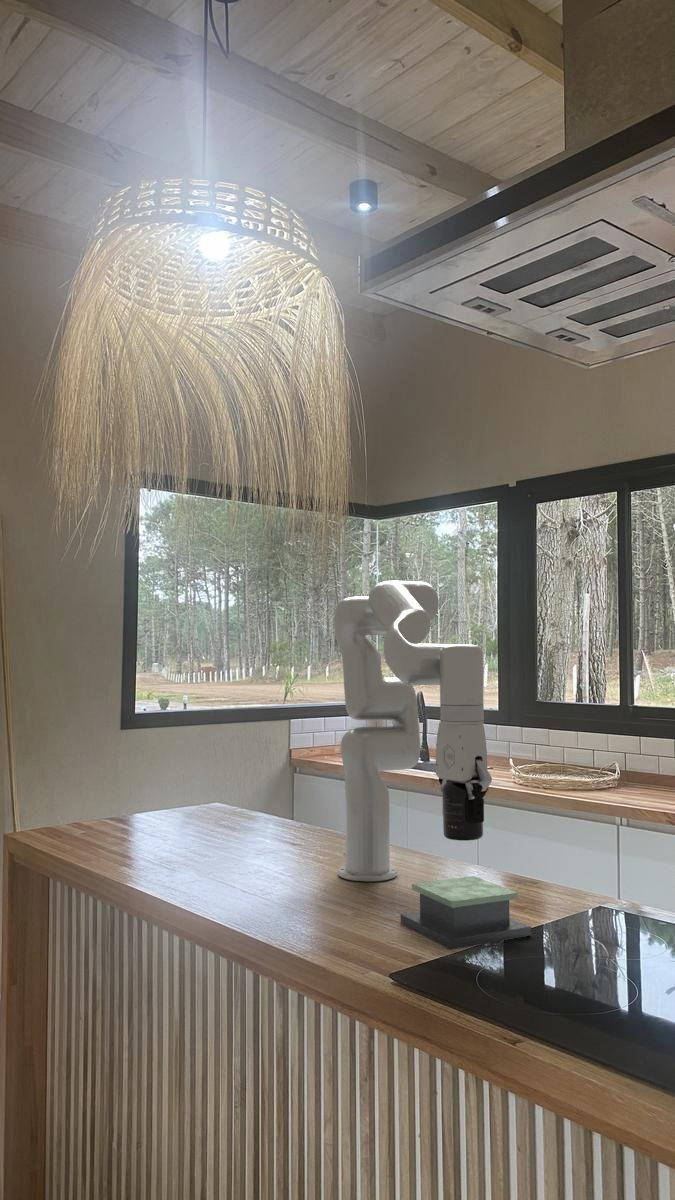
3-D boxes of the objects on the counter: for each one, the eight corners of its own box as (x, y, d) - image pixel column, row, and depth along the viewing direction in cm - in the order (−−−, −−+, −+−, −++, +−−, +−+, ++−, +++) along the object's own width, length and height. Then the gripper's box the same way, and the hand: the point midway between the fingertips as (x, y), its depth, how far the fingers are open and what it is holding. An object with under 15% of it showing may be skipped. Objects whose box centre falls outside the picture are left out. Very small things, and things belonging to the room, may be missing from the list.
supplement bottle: (456, 832, 161) (455, 764, 161) (490, 836, 156) (489, 766, 157) (435, 837, 155) (434, 767, 156) (469, 842, 151) (468, 770, 152)
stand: (400, 923, 158) (400, 882, 159) (476, 912, 165) (476, 873, 166) (449, 949, 144) (449, 904, 145) (531, 936, 151) (530, 893, 151)
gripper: (417, 713, 163) (418, 813, 162) (471, 718, 148) (472, 829, 147) (453, 712, 167) (454, 810, 165) (509, 717, 151) (510, 825, 150)
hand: (462, 818), depth 156 cm, fingers closed on supplement bottle, 6 cm apart
